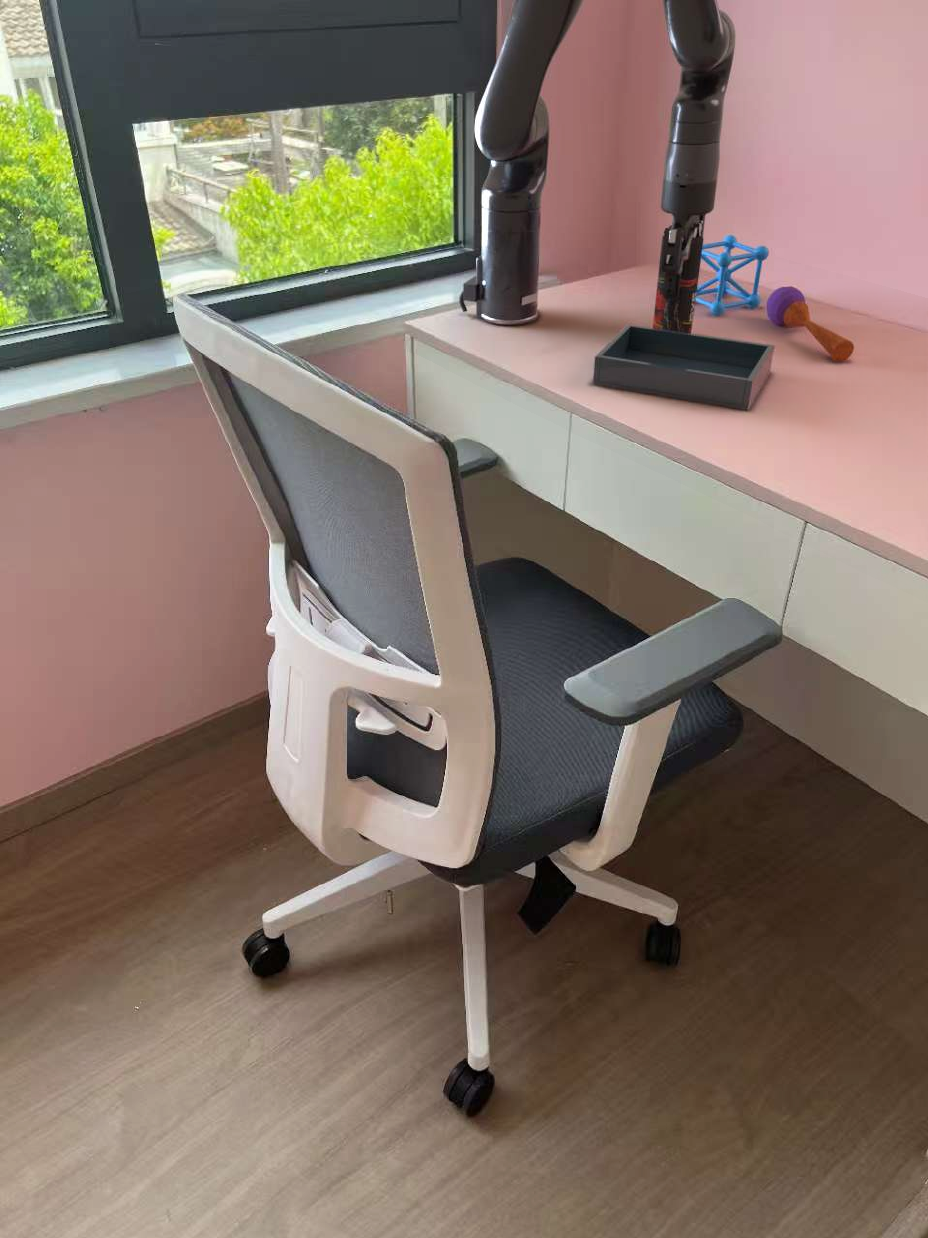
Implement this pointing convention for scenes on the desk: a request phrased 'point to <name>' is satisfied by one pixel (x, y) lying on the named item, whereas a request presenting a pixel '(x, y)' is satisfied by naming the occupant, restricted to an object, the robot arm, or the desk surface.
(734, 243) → the molecular structure
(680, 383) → the dark grey tray
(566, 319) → the desk surface
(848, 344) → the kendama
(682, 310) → the deodorant
